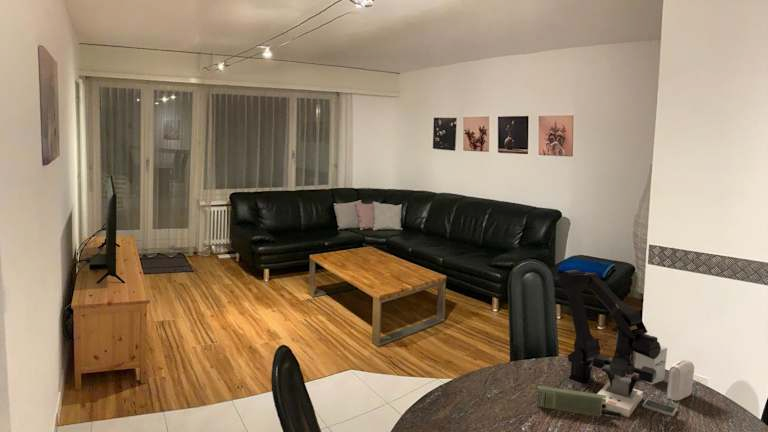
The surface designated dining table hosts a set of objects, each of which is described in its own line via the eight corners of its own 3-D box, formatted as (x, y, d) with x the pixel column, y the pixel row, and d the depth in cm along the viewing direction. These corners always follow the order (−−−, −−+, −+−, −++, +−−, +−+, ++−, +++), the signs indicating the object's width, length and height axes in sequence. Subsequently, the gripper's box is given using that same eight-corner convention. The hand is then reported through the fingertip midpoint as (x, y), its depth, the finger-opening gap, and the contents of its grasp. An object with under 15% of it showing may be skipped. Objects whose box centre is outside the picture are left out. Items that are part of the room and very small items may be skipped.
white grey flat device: (592, 405, 167) (593, 397, 167) (607, 388, 179) (608, 380, 179) (628, 417, 160) (629, 409, 160) (642, 398, 172) (642, 391, 172)
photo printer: (680, 389, 179) (684, 355, 178) (693, 394, 176) (697, 360, 174) (664, 397, 174) (668, 362, 172) (677, 402, 170) (681, 367, 168)
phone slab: (673, 416, 161) (673, 414, 161) (642, 406, 167) (642, 404, 167) (676, 410, 165) (677, 407, 165) (646, 401, 171) (646, 398, 171)
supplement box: (652, 385, 182) (655, 351, 180) (633, 377, 188) (636, 344, 187) (664, 381, 186) (668, 347, 184) (645, 372, 192) (648, 340, 190)
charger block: (610, 395, 172) (612, 379, 171) (615, 390, 176) (616, 374, 175) (626, 400, 169) (628, 384, 168) (631, 395, 173) (632, 379, 172)
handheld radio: (536, 402, 169) (619, 415, 162) (536, 408, 166) (621, 421, 159) (537, 384, 168) (621, 396, 160) (537, 389, 165) (623, 401, 157)
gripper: (588, 346, 170) (584, 391, 172) (650, 363, 158) (645, 410, 160) (599, 337, 178) (595, 380, 180) (658, 352, 166) (654, 397, 169)
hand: (621, 391), depth 172 cm, fingers closed on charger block, 5 cm apart
